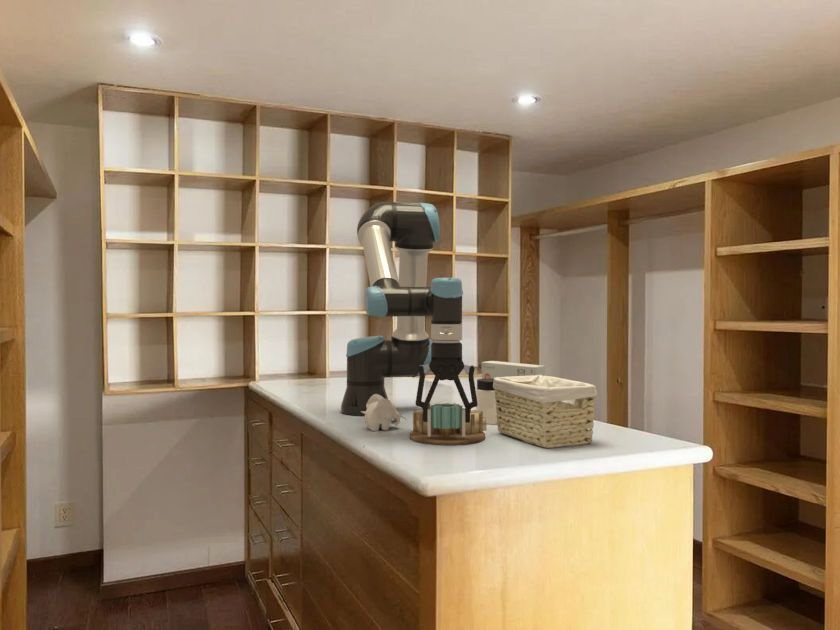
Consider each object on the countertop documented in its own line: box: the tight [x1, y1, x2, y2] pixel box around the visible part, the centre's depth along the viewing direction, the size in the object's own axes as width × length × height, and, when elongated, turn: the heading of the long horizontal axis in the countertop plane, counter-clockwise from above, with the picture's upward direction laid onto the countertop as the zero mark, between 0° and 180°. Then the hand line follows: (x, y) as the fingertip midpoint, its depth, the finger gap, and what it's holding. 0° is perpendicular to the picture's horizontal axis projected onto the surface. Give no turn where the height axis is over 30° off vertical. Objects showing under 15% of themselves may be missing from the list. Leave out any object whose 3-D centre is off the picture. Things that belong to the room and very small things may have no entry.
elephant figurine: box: [361, 394, 407, 432], centre depth 186 cm, size 10×12×9 cm
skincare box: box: [481, 360, 546, 379], centre depth 207 cm, size 21×6×16 cm, turn 43°
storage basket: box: [493, 375, 598, 449], centre depth 172 cm, size 24×16×15 cm
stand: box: [483, 417, 487, 431], centre depth 186 cm, size 6×6×3 cm
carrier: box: [409, 403, 486, 446], centre depth 174 cm, size 19×19×8 cm
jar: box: [475, 378, 498, 425], centre depth 197 cm, size 9×8×12 cm
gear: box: [430, 402, 463, 429], centre depth 168 cm, size 8×8×5 cm
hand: (446, 435), depth 168 cm, fingers closed on gear, 8 cm apart
